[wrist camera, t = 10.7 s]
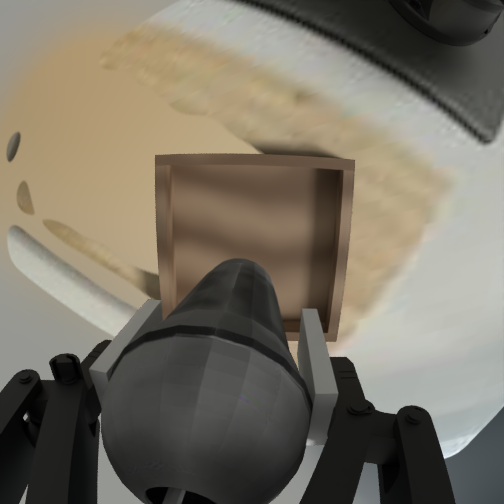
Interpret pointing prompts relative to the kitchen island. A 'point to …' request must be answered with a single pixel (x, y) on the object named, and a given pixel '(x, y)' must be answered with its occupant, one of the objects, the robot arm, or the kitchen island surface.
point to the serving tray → (257, 227)
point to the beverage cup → (210, 398)
